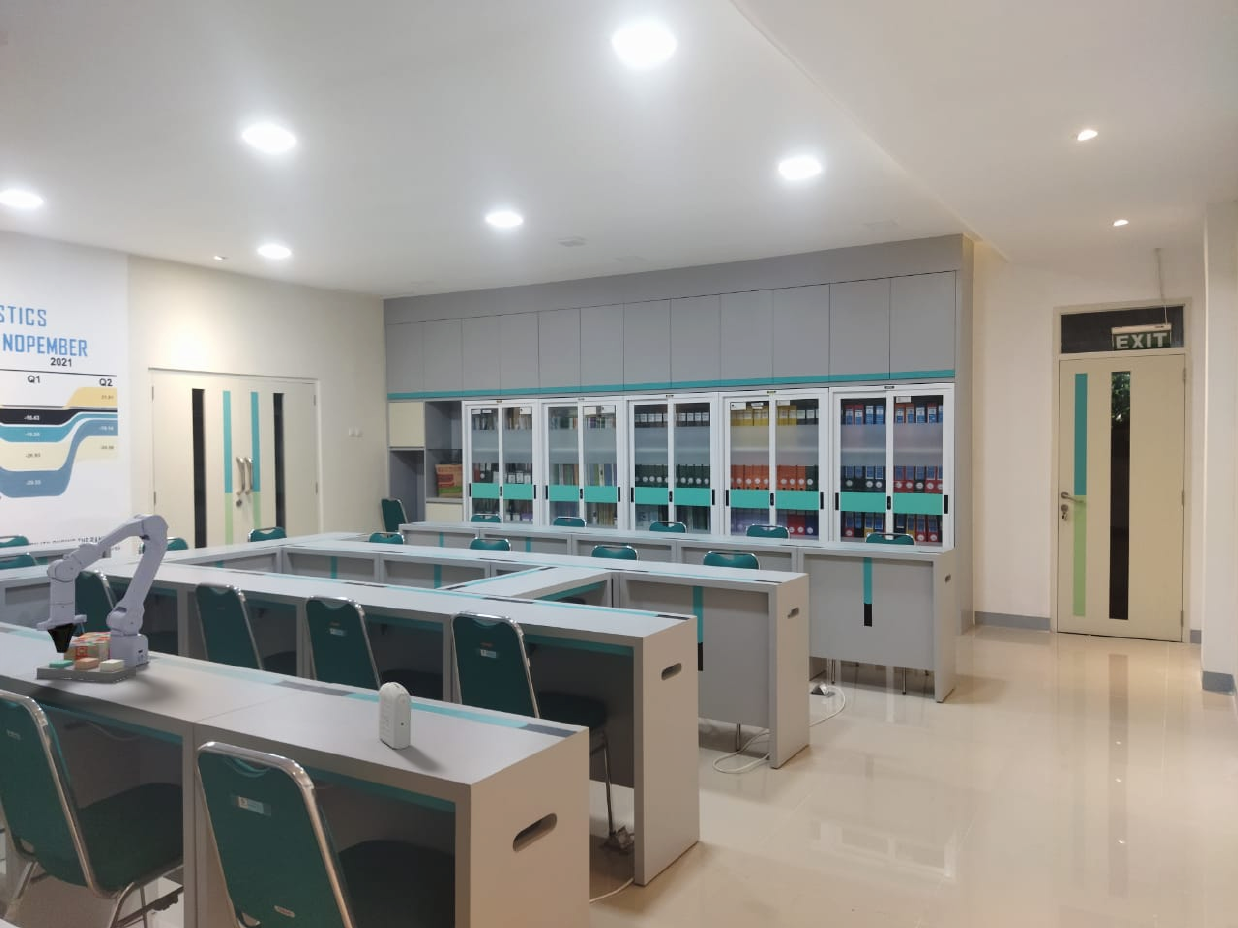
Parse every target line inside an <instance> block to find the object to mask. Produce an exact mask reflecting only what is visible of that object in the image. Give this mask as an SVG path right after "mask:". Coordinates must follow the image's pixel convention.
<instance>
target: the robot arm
mask: <svg viewBox="0 0 1238 928" xmlns="http://www.w3.org/2000/svg"><path fill="white" fill-rule="evenodd" d="M169 528H170V527H169V525H168V523H167V522H166V520H165V518H164V517H163V516H161V515H159V514H146V513H138V514H136V515H135V516H133V517H131V518H128V519H127V520H125V521H124V522H123V523H122V524H120V525H119V526H118V527H116V528H115V529H113V530H111V531H110V532H109V533H107V534H106V535H104V536H103V537H102V538H100V539H99V540H97V541H96V542H90V541H89V542H86V543H85V542H82V543H80V544H79V545H78V548H76V549H75V550H73V551H72V552H69V553H65V554H64V555H62V558H61V559H56V560H53V561H52V562H51V563H50V564H49V566H48V569H47V570H46V571H45V572H46V575H47V577H48V578H49V579H50V587H49V591H50V592H49V596H50V597H49V599H50V600H49V603H50V604H49V618H48V619H47V620H45V621H42V622H39V623H36V632H47V633H48V634H49V635H50V637H51V638H52V641H53V643H54V647H55V650H56V653H57V654H64V653H66V652H67V651H68V647H69V644H70V642H72V638H73V636H74V635H75V632H76V631H77V630H78V625H75V624H81V623H85V622H87V619H88V617H87V614H76V607H75V606H76V579H77V578H78V576H79V575H80V572H83V571H84V570H85V569H87V568H88V567H90V566H91V565H93V564H95V563H96V562H98V561H99V560H101V559H102V557H103V555H104V552H105V551H107V550H109V549H111V548H112V547H114V546H115V545H117V544H119V543H120V542H122V541H124V540H126V539H128V538H130V537H138V538H139V539H141V542H142V543H143V545H144V546H145V550H144V552H143V555H142V557H141V558H140V562H139V563H138V565H137V567H136V570H135V571H134V574H133V576H132V578H131V581H130V583H129V584H128V587H127V590H126V592H125V594H124V596H123V598H122V599H121V600H120V601H118V602H117V603H116V605H115V607H114V609H112V611H110V613H108V615H107V617H106V620H105V621H106V625H107V627H108V628H109V629H110V631H109V632H110V659H109V660H111V659H114V660H124V665H125V666H136V667H137V666H140V665H143V664H147V663H150V661H151V660H150V659H149V640H148V637H147V636H146V635H144V634H141V633H139V632H140V631H139V630H140V629H141V628H142V626H143V621H144V620H143V617H144V614H145V608H144V602H145V601H146V598H147V595H148V594H149V590H150V589H151V586H152V584H153V582H154V579H155V577H156V575H157V573H158V571H159V568H160V566H161V564H162V562H163V559H164V557H165V554H166V552H167V551H168V547H169V543H168V542H169V541H168V530H169ZM75 614H76V615H75Z"/></svg>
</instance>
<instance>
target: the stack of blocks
mask: <svg viewBox="0 0 1238 928" xmlns="http://www.w3.org/2000/svg"><path fill="white" fill-rule="evenodd" d="M110 632H111V631H102V632H99V631H96V632H95V631H94V632H86V633H83V634H82V635H80V636H79V637H77V638H76V639H74V640H73V641H70V644H69V647H68V651H67V652H66V653H63V660H67V661H74V662H75V661H77V660H80V659H84V658H97V659H99V664H100V662H104V661H107V660H110Z"/></svg>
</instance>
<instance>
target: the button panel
mask: <svg viewBox="0 0 1238 928" xmlns="http://www.w3.org/2000/svg"><path fill="white" fill-rule="evenodd" d="M74 666H75V662H74V665H71V666H67V667H64V668H55V667H49V664H47V665H43V666H41V667H36V678H42V679H55V678H71V679H83V680H82V681H85V680H94V681H93V682H100V681H107V682H106V683H116V682H118V681H117V680H119V681H121V680H120V679H122V680H124V679H123V678H125V679H128V678H131V677H134V676H136V675H137V666H125V665H124V668H122V669H118V670H115V671H103V670H100V664H99V666H98V667H94V668H91V669H74ZM115 681H116V682H115Z"/></svg>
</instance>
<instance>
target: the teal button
mask: <svg viewBox="0 0 1238 928" xmlns="http://www.w3.org/2000/svg"><path fill="white" fill-rule="evenodd" d="M48 665H49V667H55V668H64V667H67V666H71V665H74V661H67V660H57V661H53V662H50V663H49V664H48Z"/></svg>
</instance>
